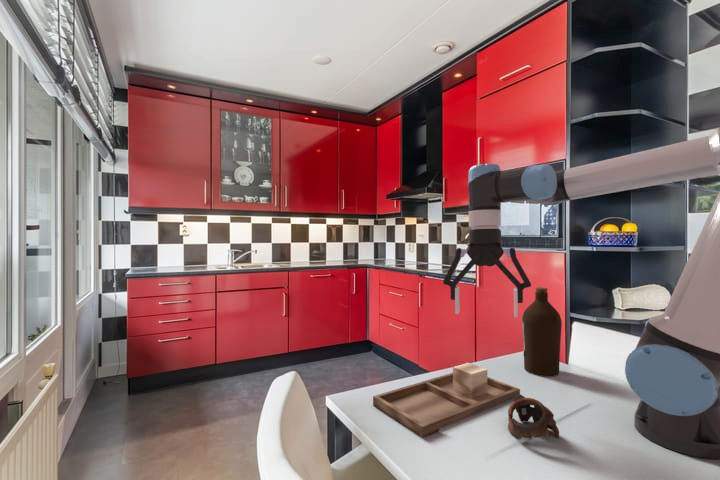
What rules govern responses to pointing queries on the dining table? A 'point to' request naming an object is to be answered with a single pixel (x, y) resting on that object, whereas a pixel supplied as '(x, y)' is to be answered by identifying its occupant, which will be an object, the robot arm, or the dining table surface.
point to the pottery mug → (525, 412)
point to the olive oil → (541, 336)
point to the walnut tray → (438, 403)
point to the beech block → (470, 380)
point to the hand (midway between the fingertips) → (485, 314)
